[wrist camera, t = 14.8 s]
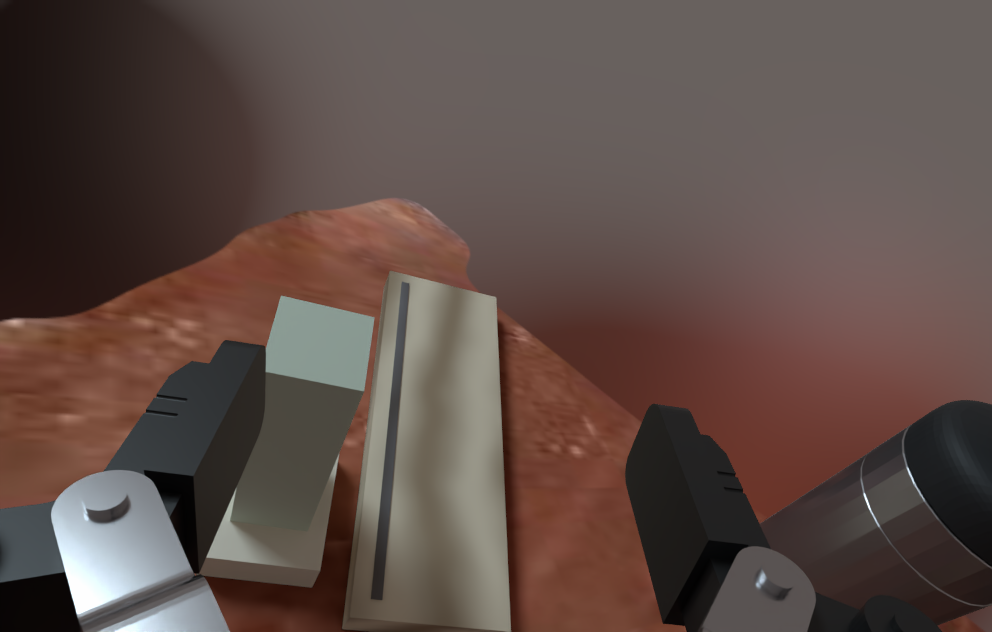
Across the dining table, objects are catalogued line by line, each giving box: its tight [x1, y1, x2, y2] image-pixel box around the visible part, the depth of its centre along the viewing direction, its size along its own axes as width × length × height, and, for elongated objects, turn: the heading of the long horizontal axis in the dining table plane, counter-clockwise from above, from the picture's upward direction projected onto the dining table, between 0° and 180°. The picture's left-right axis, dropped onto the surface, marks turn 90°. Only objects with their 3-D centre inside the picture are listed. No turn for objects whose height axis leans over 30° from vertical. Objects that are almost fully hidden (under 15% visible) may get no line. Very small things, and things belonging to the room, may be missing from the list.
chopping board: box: [342, 271, 511, 632], centre depth 44 cm, size 9×26×2 cm, turn 2°
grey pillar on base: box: [196, 296, 374, 588], centre depth 32 cm, size 6×8×16 cm
